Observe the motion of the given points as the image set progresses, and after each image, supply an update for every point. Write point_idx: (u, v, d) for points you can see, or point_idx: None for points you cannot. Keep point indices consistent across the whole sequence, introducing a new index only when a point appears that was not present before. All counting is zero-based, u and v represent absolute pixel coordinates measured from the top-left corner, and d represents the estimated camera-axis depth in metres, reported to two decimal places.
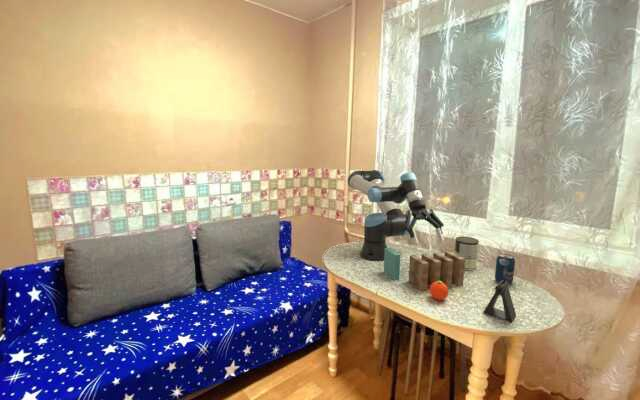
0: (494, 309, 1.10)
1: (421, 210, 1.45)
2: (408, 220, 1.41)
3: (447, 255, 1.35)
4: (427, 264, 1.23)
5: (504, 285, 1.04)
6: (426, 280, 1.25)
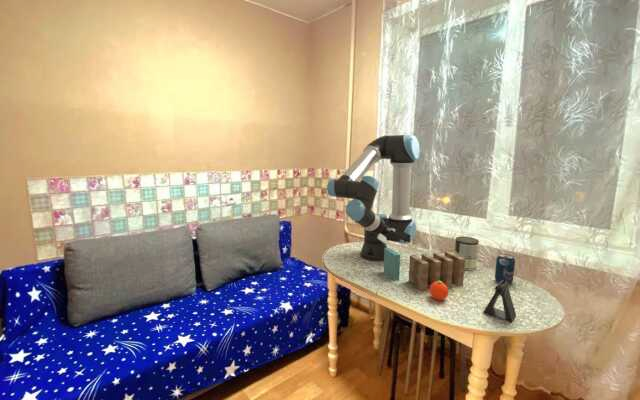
0: (494, 309, 1.10)
1: None
2: (369, 233, 1.37)
3: (447, 255, 1.35)
4: (427, 264, 1.23)
5: (504, 285, 1.04)
6: (426, 280, 1.25)
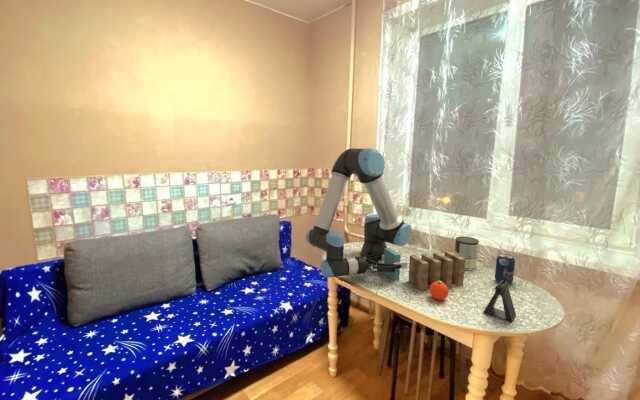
0: (494, 309, 1.10)
1: None
2: None
3: (447, 255, 1.35)
4: (427, 264, 1.23)
5: (504, 285, 1.04)
6: (426, 280, 1.25)
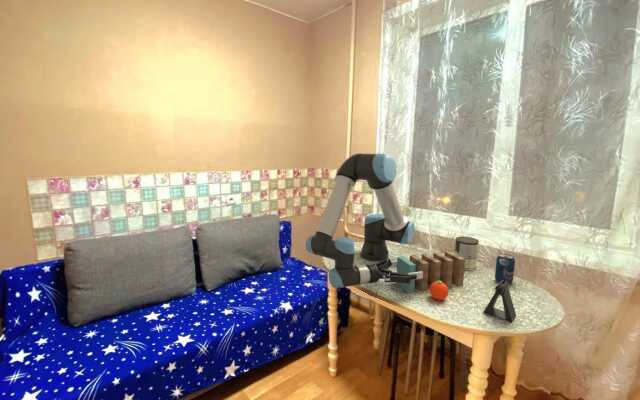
0: (494, 309, 1.10)
1: None
2: None
3: (447, 255, 1.35)
4: (427, 264, 1.23)
5: (504, 285, 1.04)
6: (426, 280, 1.25)
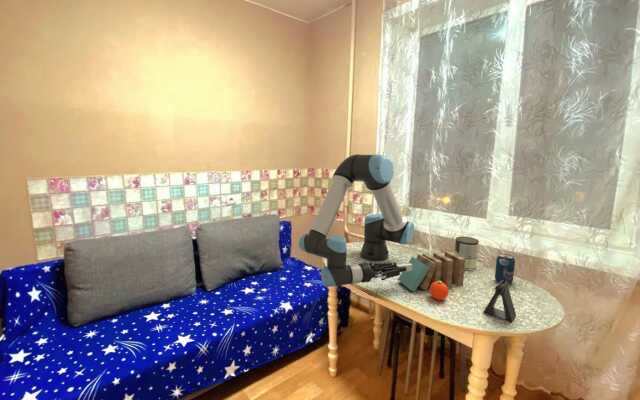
0: (494, 309, 1.10)
1: None
2: None
3: (447, 255, 1.35)
4: (435, 264, 1.25)
5: (504, 285, 1.04)
6: (429, 280, 1.25)
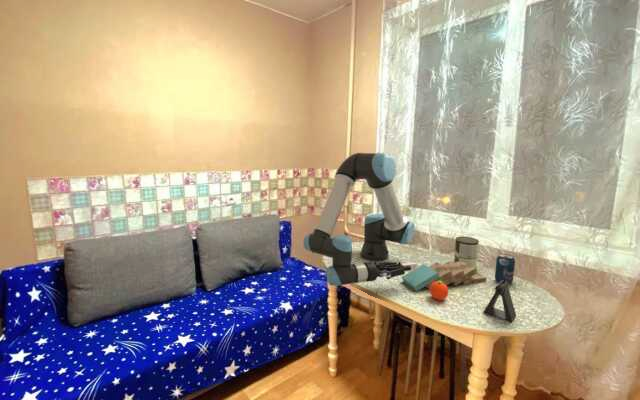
0: (494, 309, 1.10)
1: None
2: None
3: None
4: (451, 275, 1.28)
5: (504, 285, 1.04)
6: None
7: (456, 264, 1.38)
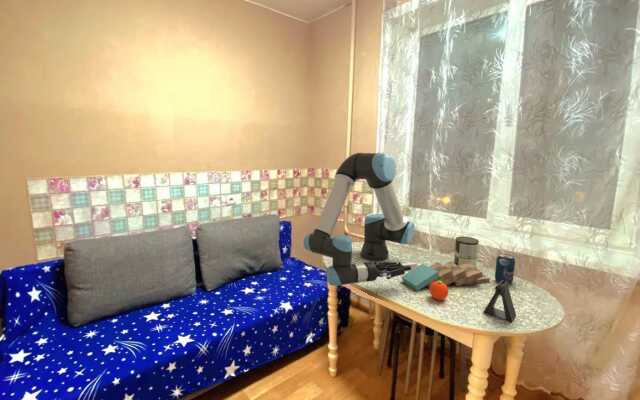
0: (494, 309, 1.10)
1: None
2: None
3: None
4: (452, 274, 1.29)
5: (504, 285, 1.04)
6: None
7: (464, 265, 1.37)
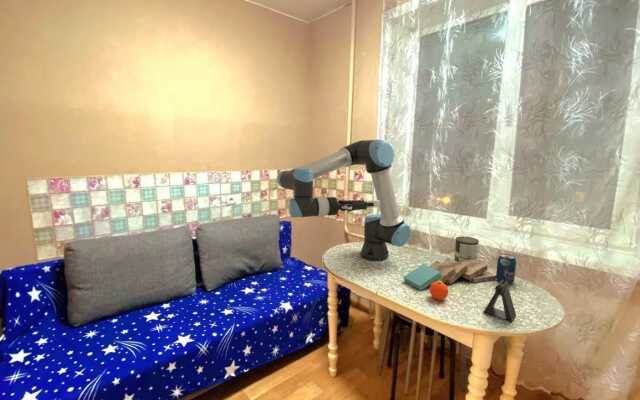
0: (494, 309, 1.10)
1: None
2: None
3: None
4: (454, 272, 1.31)
5: (504, 285, 1.04)
6: (443, 281, 1.29)
7: (466, 262, 1.42)
